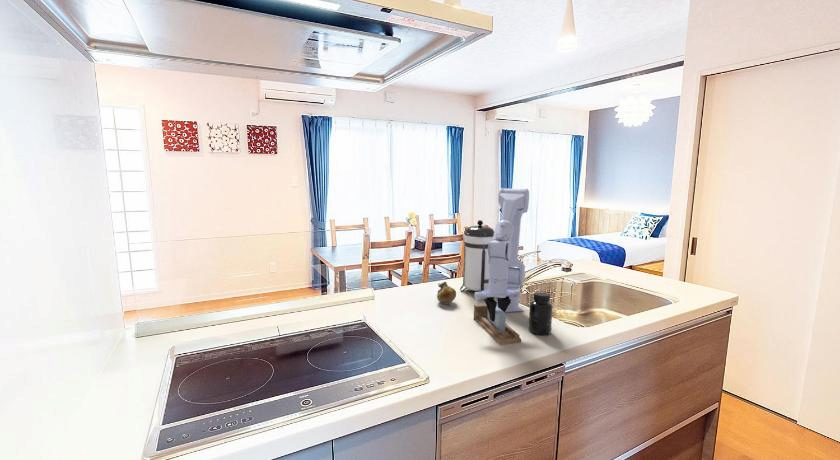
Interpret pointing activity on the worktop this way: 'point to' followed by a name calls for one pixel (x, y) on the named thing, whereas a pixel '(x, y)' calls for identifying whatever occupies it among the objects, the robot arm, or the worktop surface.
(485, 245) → the coffee press
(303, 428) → the worktop surface
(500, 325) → the light blue flat block
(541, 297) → the supplement bottle
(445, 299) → the onion
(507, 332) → the door track
